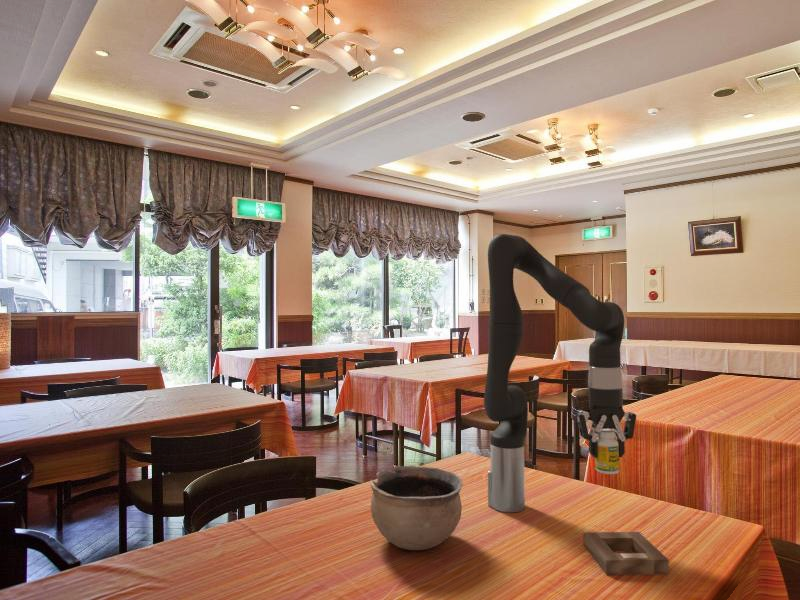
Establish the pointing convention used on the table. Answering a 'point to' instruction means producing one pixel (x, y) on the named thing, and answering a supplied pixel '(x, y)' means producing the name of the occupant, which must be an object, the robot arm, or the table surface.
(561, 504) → the table surface
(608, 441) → the supplement bottle
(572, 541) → the table surface
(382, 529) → the ceramic bowl
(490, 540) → the table surface
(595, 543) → the socket holder
